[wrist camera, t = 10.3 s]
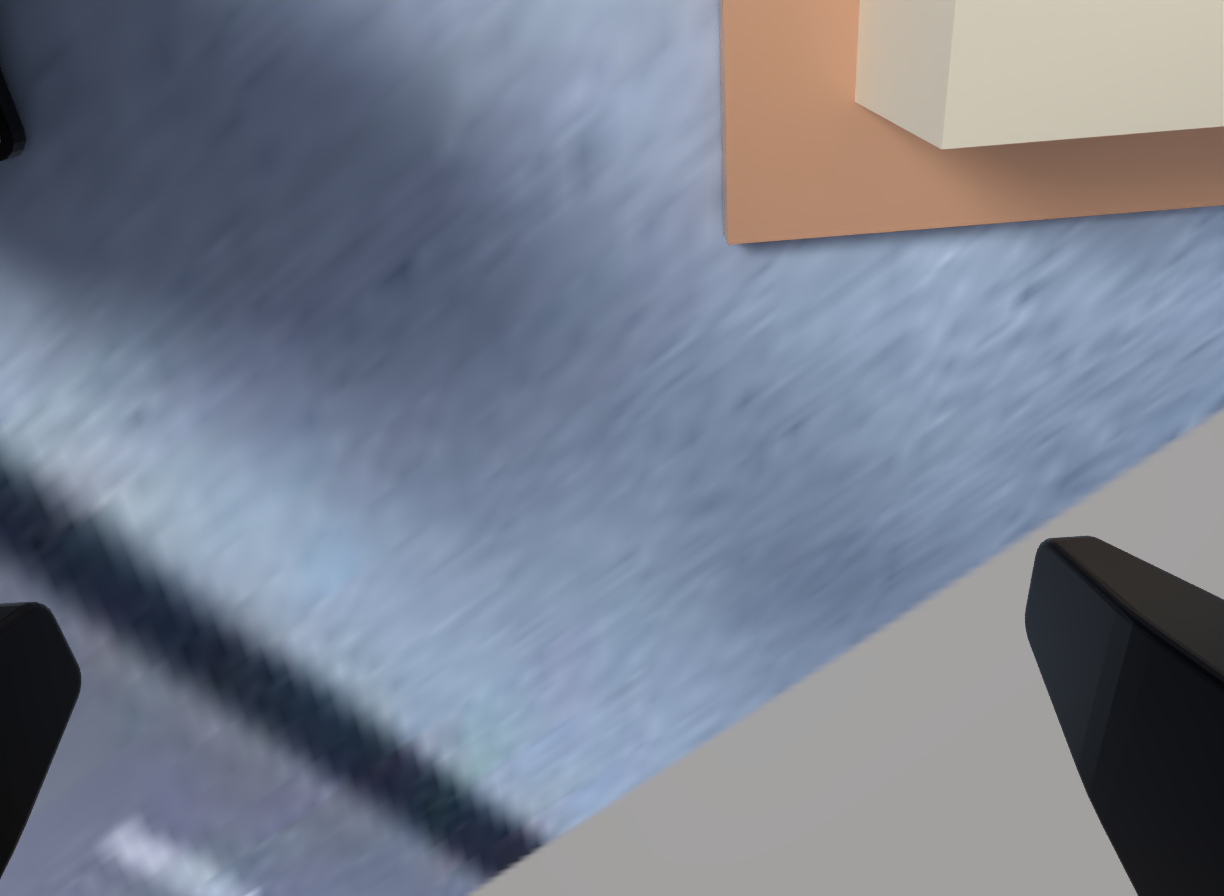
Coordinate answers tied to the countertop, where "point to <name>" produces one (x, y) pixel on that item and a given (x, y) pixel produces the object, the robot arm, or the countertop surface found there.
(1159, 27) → the cream letter cube
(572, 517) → the countertop surface
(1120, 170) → the terracotta tile
